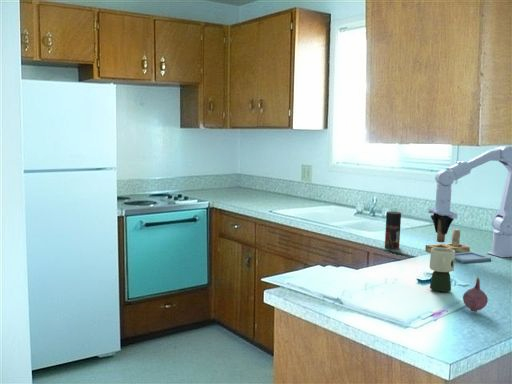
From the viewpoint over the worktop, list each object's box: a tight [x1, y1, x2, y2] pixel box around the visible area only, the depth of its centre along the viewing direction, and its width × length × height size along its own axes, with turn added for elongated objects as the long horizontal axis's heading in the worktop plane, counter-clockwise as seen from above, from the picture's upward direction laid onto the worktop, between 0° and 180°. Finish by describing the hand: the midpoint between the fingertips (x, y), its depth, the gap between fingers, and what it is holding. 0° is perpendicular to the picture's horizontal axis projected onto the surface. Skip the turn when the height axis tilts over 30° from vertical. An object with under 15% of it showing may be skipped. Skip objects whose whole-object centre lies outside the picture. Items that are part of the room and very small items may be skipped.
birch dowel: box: [451, 228, 461, 247], centre depth 221 cm, size 3×3×9 cm
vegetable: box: [462, 276, 488, 313], centre depth 146 cm, size 6×6×10 cm
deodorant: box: [384, 211, 402, 250], centre depth 224 cm, size 6×6×15 cm
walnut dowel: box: [436, 219, 446, 243], centre depth 217 cm, size 3×3×9 cm
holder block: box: [424, 242, 471, 254], centre depth 220 cm, size 16×8×2 cm, turn 113°
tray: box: [455, 251, 492, 264], centre depth 209 cm, size 14×10×1 cm
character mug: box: [429, 247, 456, 293], centre depth 165 cm, size 11×7×13 cm, turn 167°
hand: (441, 233), depth 217 cm, fingers closed on walnut dowel, 3 cm apart
